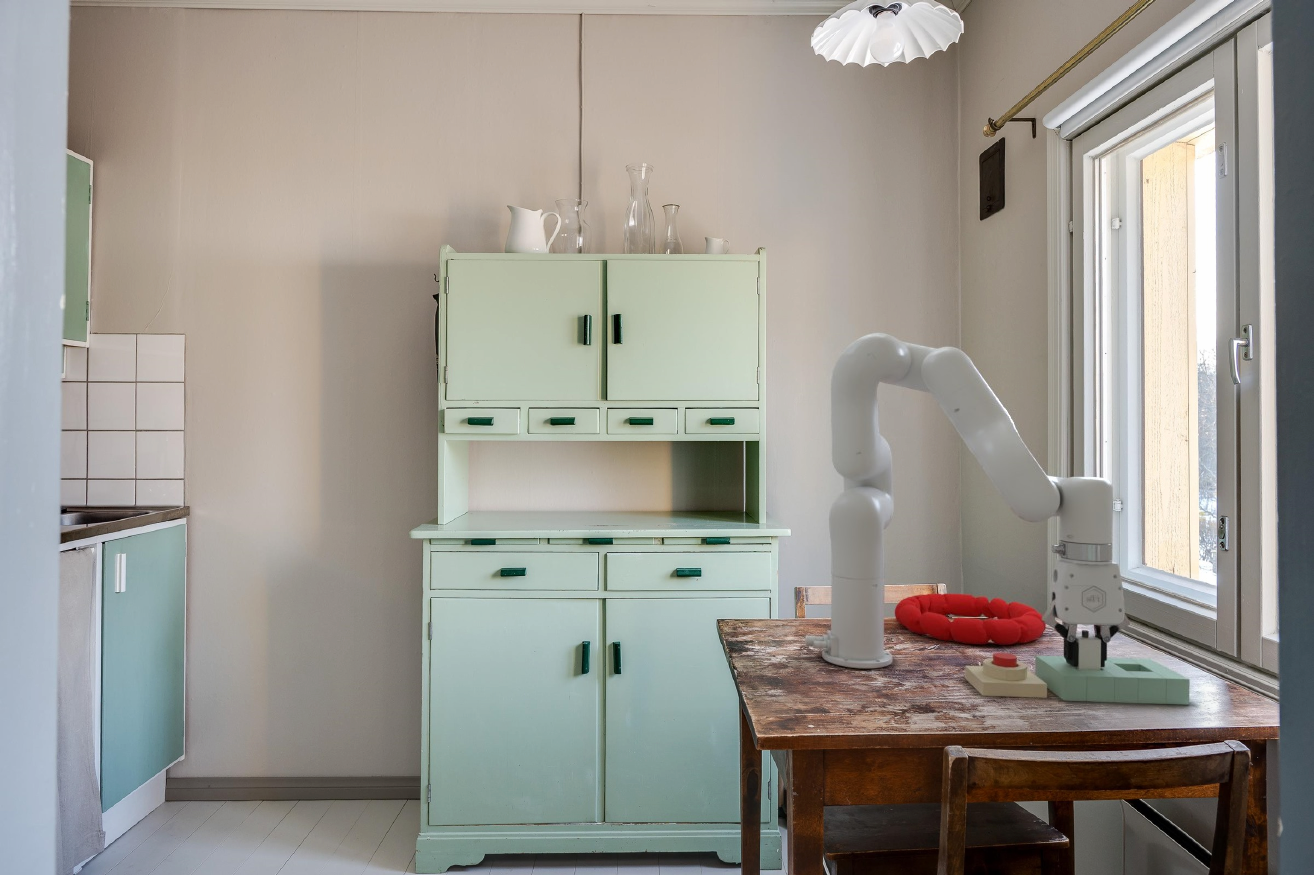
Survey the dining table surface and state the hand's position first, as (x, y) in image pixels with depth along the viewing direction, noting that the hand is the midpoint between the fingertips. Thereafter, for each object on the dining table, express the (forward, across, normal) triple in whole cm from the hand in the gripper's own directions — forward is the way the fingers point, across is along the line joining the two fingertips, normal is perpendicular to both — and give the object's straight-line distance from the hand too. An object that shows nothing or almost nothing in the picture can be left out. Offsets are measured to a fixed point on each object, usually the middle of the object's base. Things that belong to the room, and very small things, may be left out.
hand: (1085, 663), depth 129 cm
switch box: (+4, -13, 0) cm, 14 cm away
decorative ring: (+5, -6, +40) cm, 41 cm away
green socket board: (+4, +4, 0) cm, 6 cm away
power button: (+1, -13, 0) cm, 13 cm away
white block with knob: (+2, 0, 0) cm, 2 cm away
